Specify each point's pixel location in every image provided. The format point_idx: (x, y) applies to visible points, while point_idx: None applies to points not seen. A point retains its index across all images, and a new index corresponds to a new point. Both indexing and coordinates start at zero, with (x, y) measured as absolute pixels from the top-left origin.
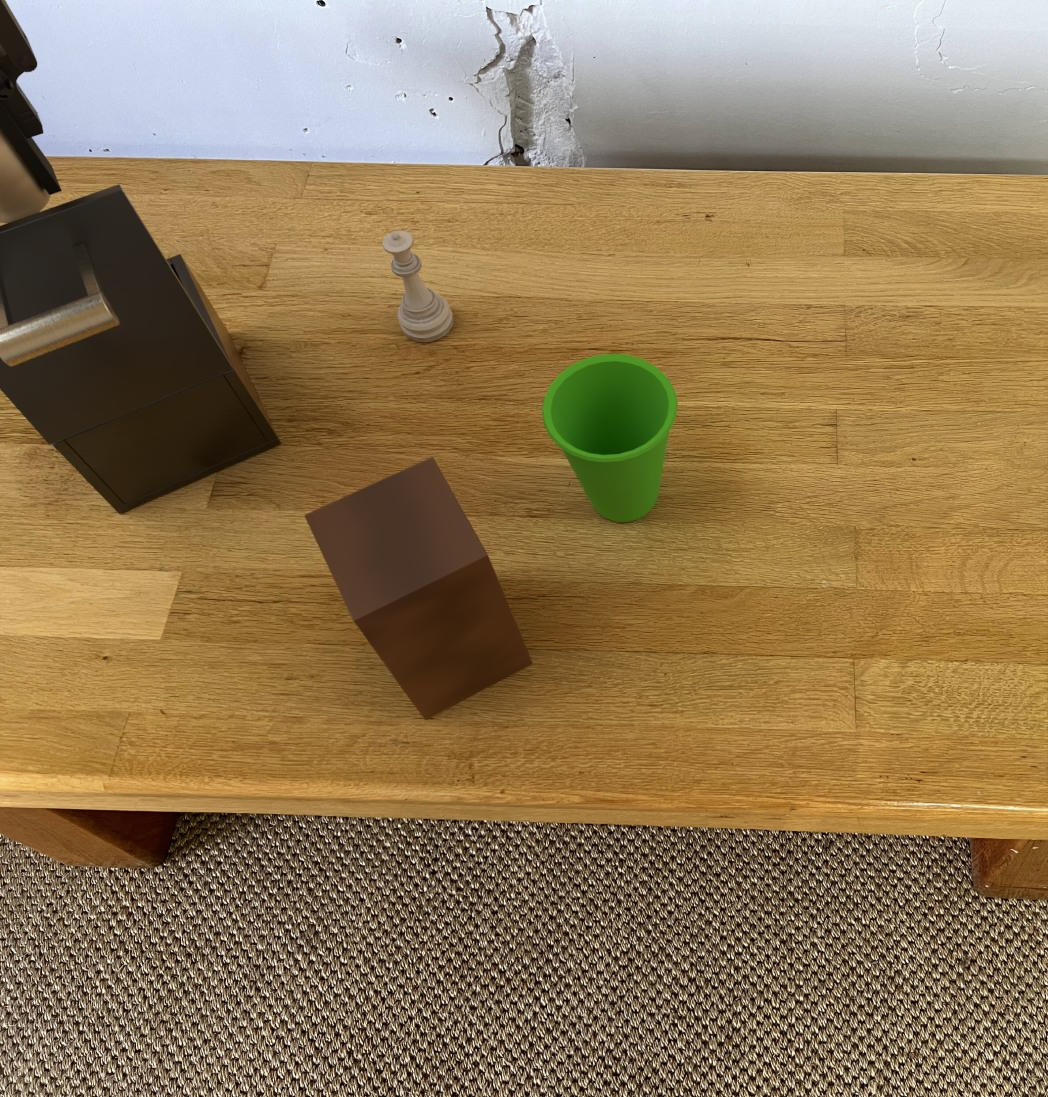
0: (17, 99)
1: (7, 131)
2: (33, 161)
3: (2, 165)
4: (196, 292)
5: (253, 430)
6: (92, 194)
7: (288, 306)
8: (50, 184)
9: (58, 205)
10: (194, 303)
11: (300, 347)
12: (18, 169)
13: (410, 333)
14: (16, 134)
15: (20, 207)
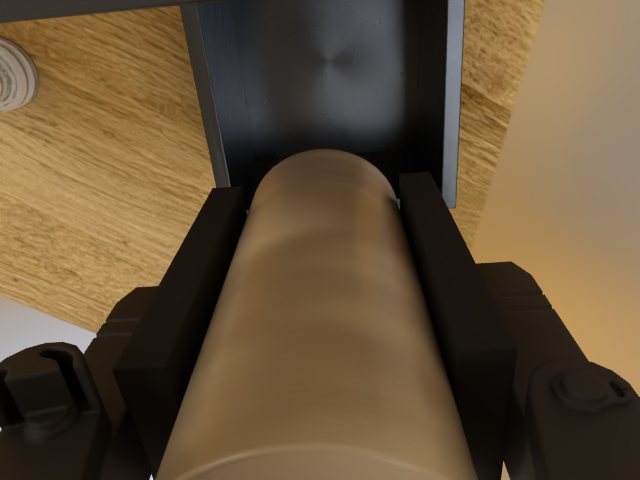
0: (91, 369)
1: (188, 288)
2: (204, 229)
3: (269, 219)
4: (209, 142)
5: None
6: (34, 12)
7: (176, 178)
8: (219, 196)
9: (141, 4)
10: (213, 120)
11: (168, 107)
12: (251, 222)
13: (17, 54)
14: (177, 279)
15: (305, 160)
